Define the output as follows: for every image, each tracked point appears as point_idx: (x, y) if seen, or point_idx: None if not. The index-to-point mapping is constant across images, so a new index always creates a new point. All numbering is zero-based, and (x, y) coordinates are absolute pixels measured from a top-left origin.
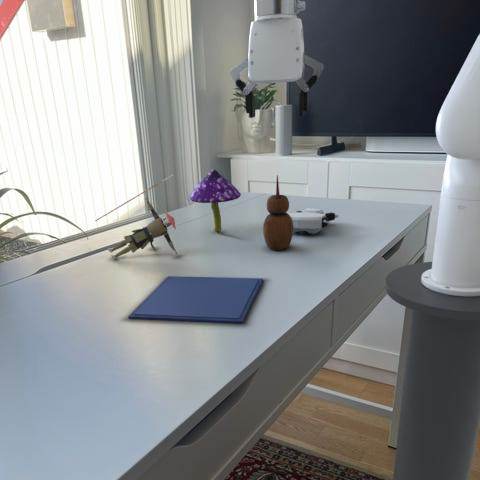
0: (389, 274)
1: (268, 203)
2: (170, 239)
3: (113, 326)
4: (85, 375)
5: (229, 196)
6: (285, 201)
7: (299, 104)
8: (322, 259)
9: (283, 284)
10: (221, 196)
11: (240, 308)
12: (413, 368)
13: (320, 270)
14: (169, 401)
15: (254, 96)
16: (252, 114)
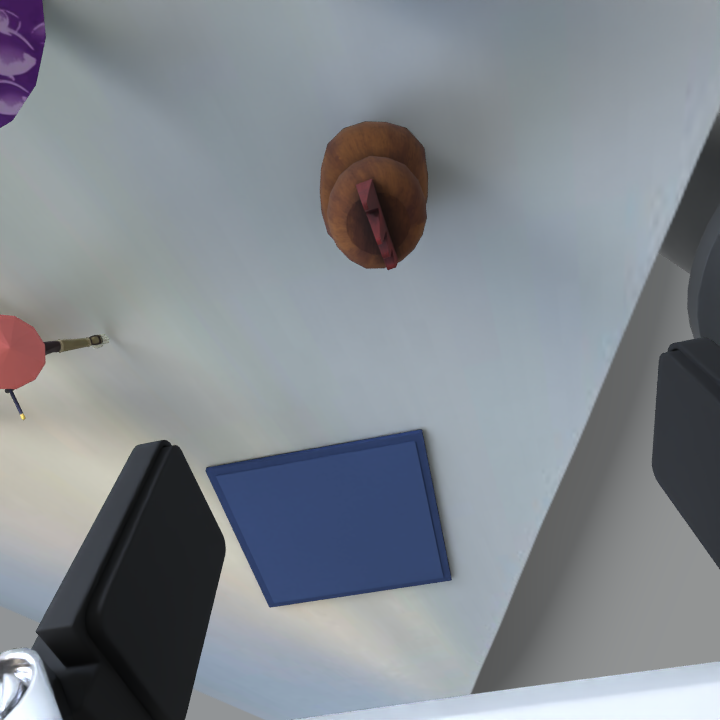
0: (716, 243)
1: (349, 259)
2: (53, 347)
3: (266, 622)
4: (326, 692)
5: (26, 55)
6: (420, 237)
7: (705, 546)
8: (537, 251)
9: (472, 435)
10: (2, 96)
11: (432, 552)
12: (669, 254)
13: (542, 337)
14: (439, 697)
15: (113, 624)
16: (221, 561)
